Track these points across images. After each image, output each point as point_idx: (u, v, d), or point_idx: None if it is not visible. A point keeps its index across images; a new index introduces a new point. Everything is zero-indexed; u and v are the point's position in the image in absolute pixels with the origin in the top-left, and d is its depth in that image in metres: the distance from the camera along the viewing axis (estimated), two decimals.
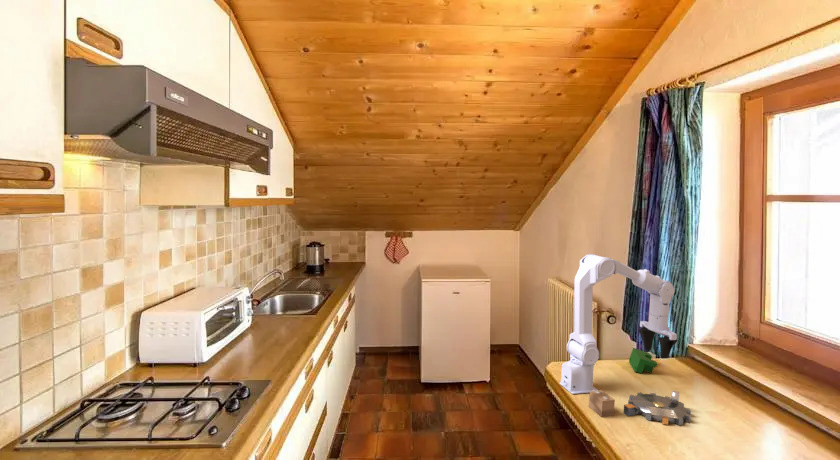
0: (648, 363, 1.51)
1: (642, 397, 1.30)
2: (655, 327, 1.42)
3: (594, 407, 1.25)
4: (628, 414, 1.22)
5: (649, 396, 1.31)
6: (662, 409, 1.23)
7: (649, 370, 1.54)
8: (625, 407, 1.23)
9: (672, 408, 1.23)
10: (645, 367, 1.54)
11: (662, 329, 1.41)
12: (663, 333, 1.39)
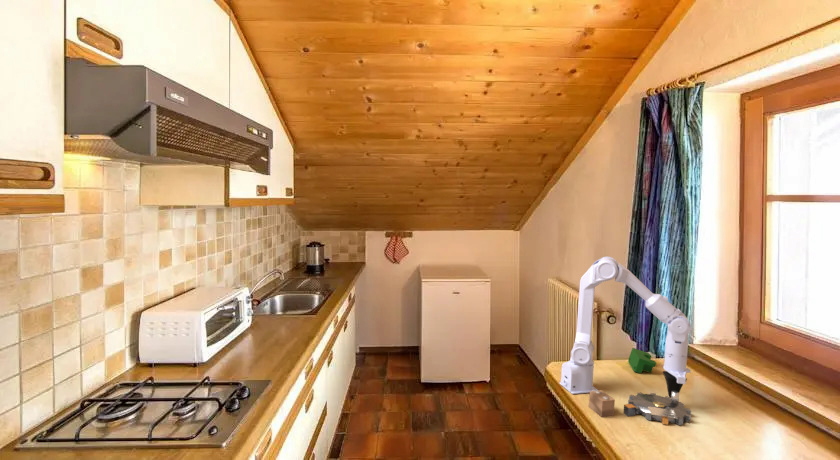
0: (647, 363, 1.51)
1: (642, 397, 1.30)
2: (667, 366, 1.27)
3: (594, 407, 1.25)
4: (628, 414, 1.22)
5: (649, 396, 1.31)
6: (662, 409, 1.23)
7: (649, 370, 1.54)
8: (625, 407, 1.23)
9: (672, 408, 1.23)
10: (644, 367, 1.54)
11: (675, 370, 1.25)
12: (672, 374, 1.24)
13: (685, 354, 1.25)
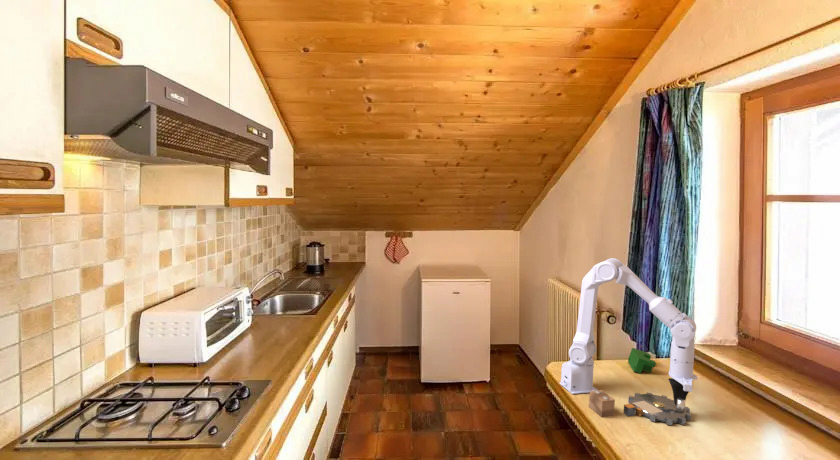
0: (647, 363, 1.51)
1: (657, 397, 1.30)
2: (673, 373, 1.22)
3: (594, 407, 1.25)
4: (628, 414, 1.22)
5: (667, 400, 1.29)
6: (653, 406, 1.24)
7: (648, 370, 1.54)
8: (625, 407, 1.23)
9: (665, 411, 1.22)
10: (644, 367, 1.54)
11: (681, 377, 1.20)
12: (678, 381, 1.19)
13: (690, 360, 1.20)
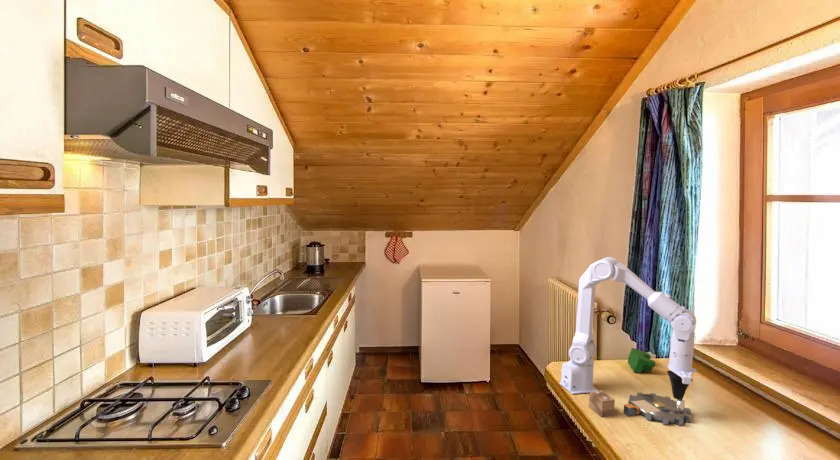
0: (647, 363, 1.51)
1: (659, 398, 1.30)
2: (672, 366, 1.22)
3: (594, 407, 1.25)
4: (628, 414, 1.22)
5: (669, 401, 1.28)
6: (652, 406, 1.24)
7: (648, 370, 1.54)
8: (625, 407, 1.23)
9: (664, 411, 1.22)
10: (644, 367, 1.54)
11: (680, 370, 1.20)
12: (678, 374, 1.19)
13: (689, 353, 1.20)
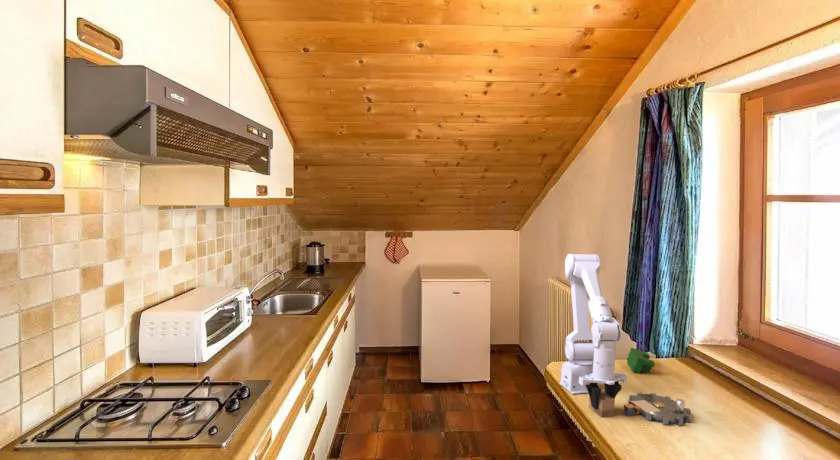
0: (646, 363, 1.51)
1: (659, 398, 1.30)
2: None
3: None
4: (628, 414, 1.22)
5: (669, 401, 1.28)
6: (652, 406, 1.24)
7: (647, 369, 1.54)
8: (625, 407, 1.23)
9: (664, 411, 1.22)
10: (643, 367, 1.54)
11: (593, 375, 1.24)
12: None
13: (601, 362, 1.21)
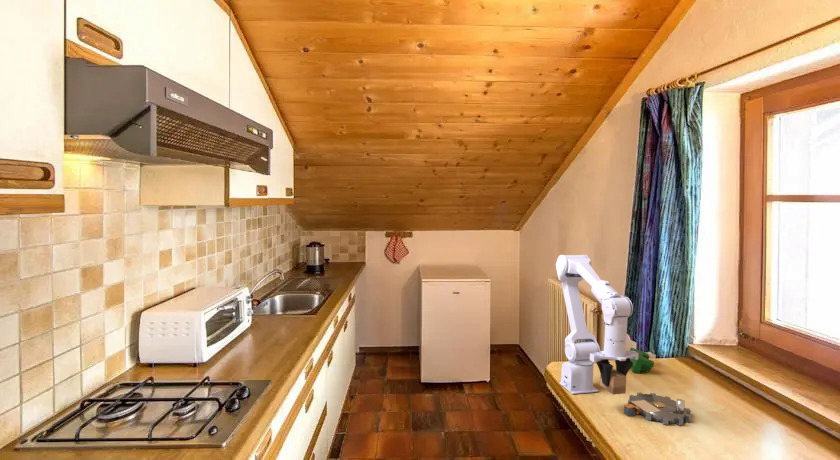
0: (645, 363, 1.51)
1: (659, 398, 1.30)
2: None
3: None
4: (628, 414, 1.22)
5: (669, 401, 1.28)
6: (652, 406, 1.24)
7: (647, 369, 1.54)
8: (625, 407, 1.23)
9: (664, 411, 1.22)
10: (642, 367, 1.54)
11: (604, 352, 1.23)
12: None
13: (614, 339, 1.20)
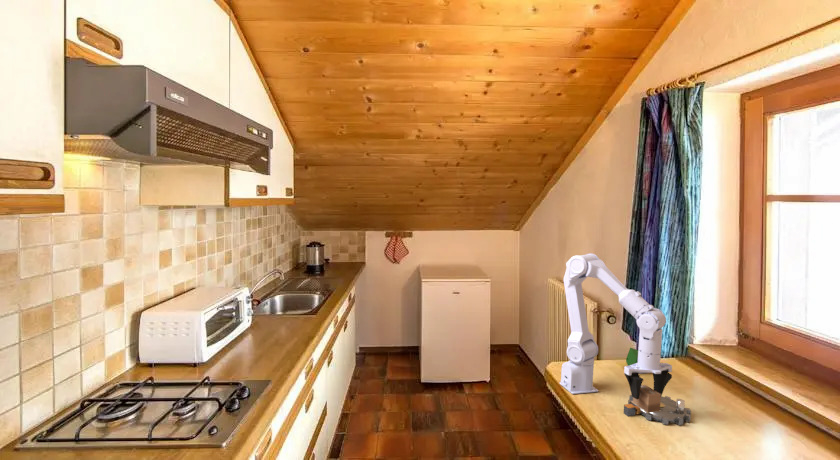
0: None
1: None
2: None
3: (639, 401, 1.24)
4: (628, 414, 1.22)
5: (669, 401, 1.28)
6: None
7: None
8: (625, 407, 1.23)
9: (664, 411, 1.22)
10: None
11: (638, 365, 1.23)
12: None
13: (655, 352, 1.20)
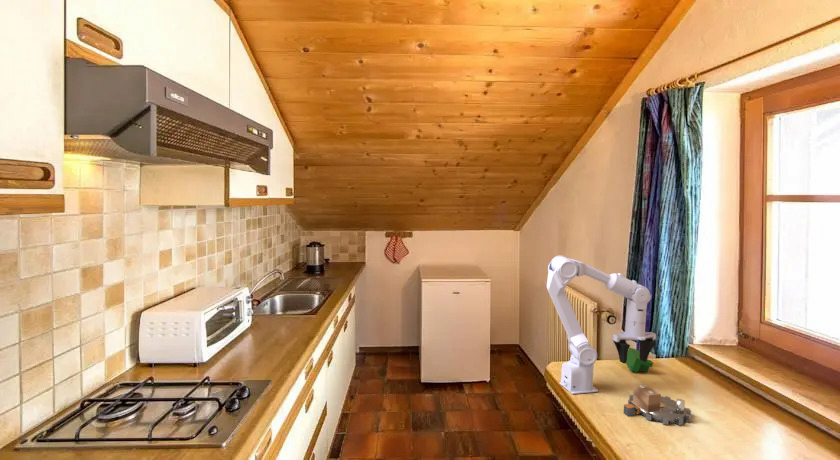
0: (644, 363, 1.51)
1: None
2: None
3: (639, 401, 1.24)
4: (628, 414, 1.22)
5: (669, 401, 1.28)
6: None
7: (645, 369, 1.54)
8: (625, 407, 1.23)
9: (664, 411, 1.22)
10: (641, 367, 1.54)
11: (625, 333, 1.38)
12: None
13: (645, 320, 1.36)
